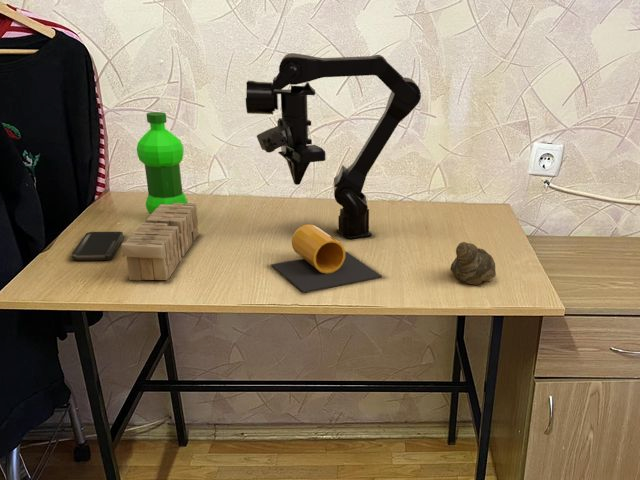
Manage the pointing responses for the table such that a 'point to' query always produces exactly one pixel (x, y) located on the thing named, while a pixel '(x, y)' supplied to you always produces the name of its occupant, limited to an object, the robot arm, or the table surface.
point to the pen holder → (318, 248)
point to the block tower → (161, 241)
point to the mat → (315, 280)
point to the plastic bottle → (161, 163)
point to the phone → (98, 246)
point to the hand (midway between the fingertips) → (297, 184)
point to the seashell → (473, 264)
